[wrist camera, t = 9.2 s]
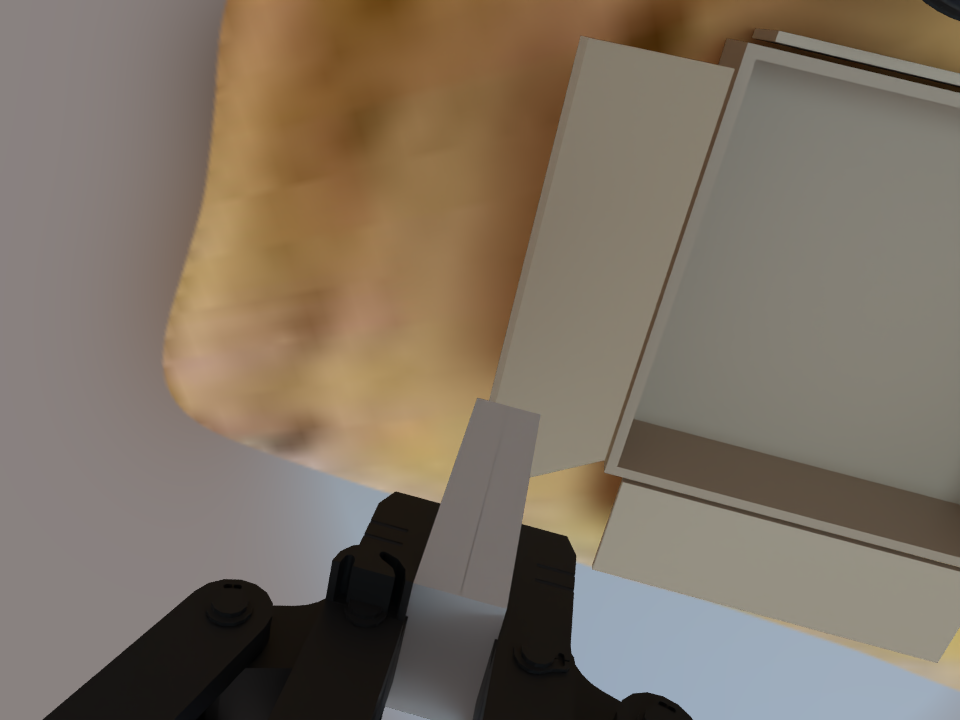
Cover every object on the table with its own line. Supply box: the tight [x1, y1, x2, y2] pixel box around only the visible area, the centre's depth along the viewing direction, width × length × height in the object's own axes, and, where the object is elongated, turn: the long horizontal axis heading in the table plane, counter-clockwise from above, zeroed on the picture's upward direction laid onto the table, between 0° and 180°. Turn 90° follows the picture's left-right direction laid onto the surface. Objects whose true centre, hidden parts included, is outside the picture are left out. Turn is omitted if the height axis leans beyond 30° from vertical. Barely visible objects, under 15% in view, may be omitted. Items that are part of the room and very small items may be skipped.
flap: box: [489, 36, 735, 477], centre depth 32 cm, size 18×8×1 cm
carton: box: [592, 29, 960, 663], centre depth 38 cm, size 26×26×6 cm
